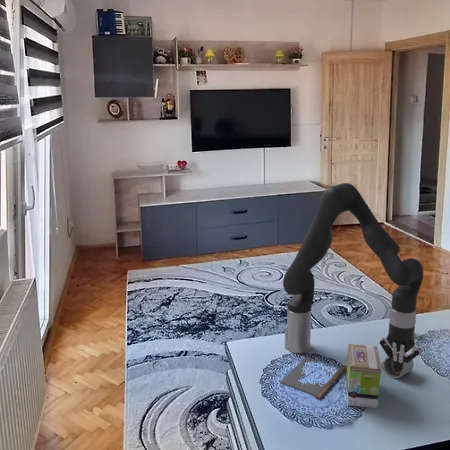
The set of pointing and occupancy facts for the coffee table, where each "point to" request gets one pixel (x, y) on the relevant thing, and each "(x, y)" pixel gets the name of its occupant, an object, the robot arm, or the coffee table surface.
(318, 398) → the rail
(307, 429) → the coffee table surface
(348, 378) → the tea box
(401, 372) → the ceramic mug
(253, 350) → the coffee table surface
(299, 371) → the mat
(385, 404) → the coffee table surface
